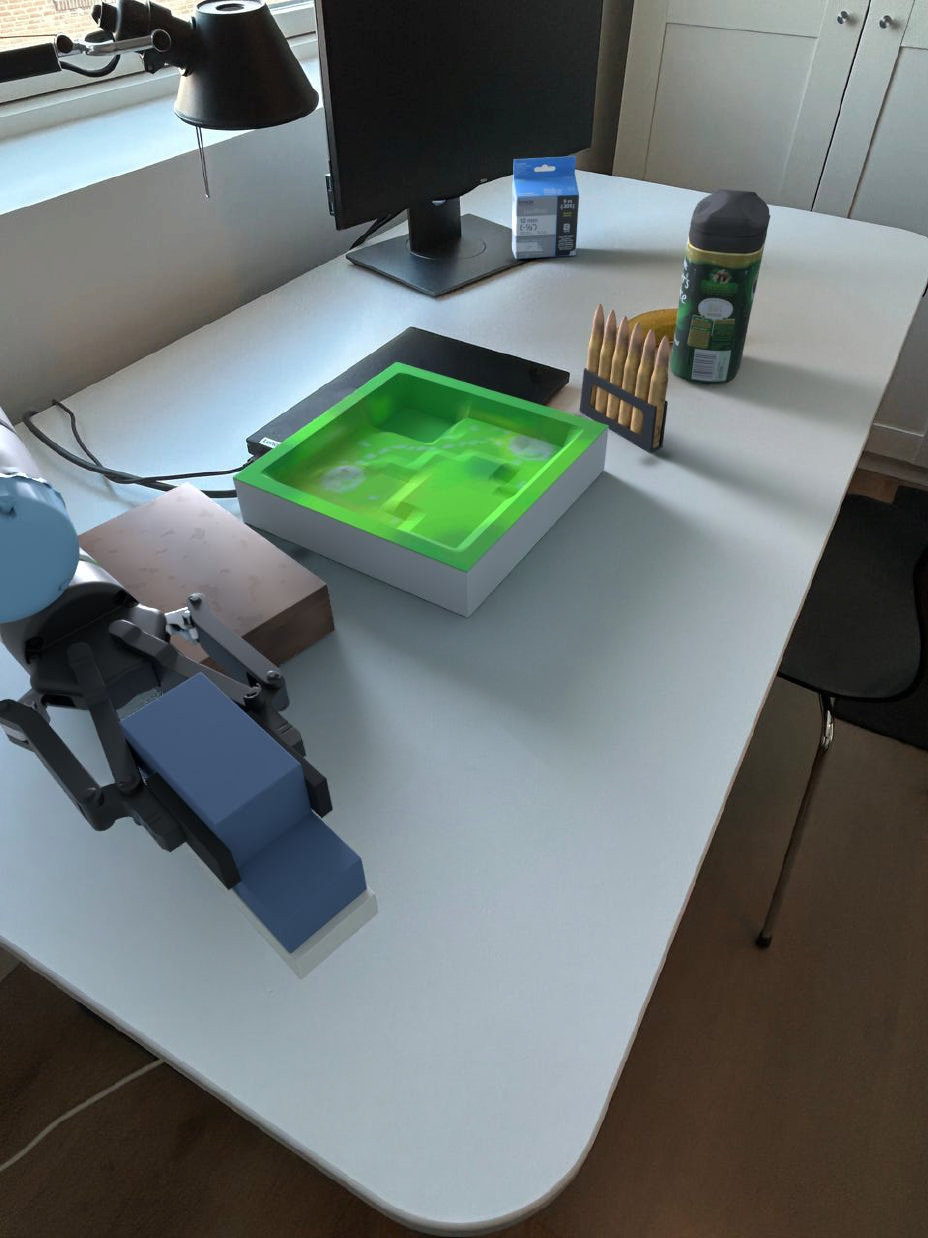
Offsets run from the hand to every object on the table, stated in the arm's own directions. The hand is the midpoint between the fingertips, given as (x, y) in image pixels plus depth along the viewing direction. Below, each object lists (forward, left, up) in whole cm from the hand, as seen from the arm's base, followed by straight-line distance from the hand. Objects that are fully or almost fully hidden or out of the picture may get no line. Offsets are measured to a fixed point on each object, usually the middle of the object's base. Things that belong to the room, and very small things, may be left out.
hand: (277, 833), depth 43 cm
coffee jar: (+75, +23, -13) cm, 80 cm away
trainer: (0, +3, -6) cm, 7 cm away
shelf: (+12, +30, -13) cm, 35 cm away
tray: (+36, +28, -13) cm, 48 cm away
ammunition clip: (+58, +22, -13) cm, 63 cm away
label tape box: (+88, +59, -13) cm, 107 cm away
